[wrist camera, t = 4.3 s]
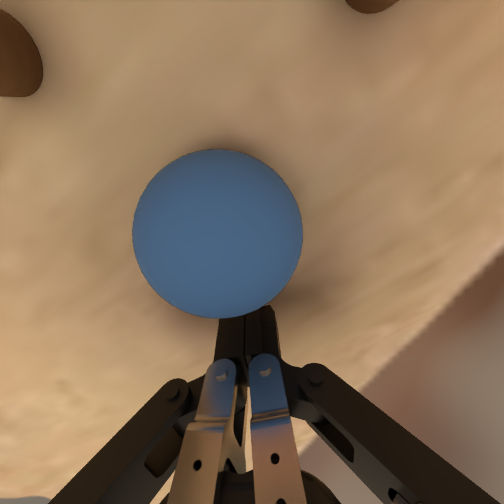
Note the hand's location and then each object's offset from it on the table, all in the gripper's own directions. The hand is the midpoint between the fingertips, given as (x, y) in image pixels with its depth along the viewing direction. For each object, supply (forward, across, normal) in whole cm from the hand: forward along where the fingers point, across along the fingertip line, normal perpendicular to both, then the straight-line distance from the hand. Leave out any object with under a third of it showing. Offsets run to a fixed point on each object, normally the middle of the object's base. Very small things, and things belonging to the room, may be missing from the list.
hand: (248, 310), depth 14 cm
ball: (-2, 0, -6) cm, 6 cm away
